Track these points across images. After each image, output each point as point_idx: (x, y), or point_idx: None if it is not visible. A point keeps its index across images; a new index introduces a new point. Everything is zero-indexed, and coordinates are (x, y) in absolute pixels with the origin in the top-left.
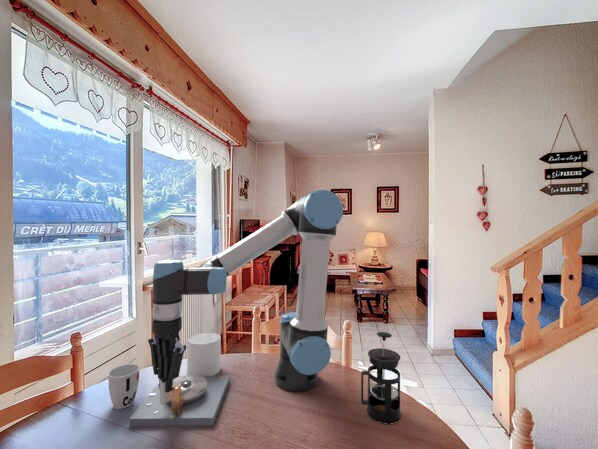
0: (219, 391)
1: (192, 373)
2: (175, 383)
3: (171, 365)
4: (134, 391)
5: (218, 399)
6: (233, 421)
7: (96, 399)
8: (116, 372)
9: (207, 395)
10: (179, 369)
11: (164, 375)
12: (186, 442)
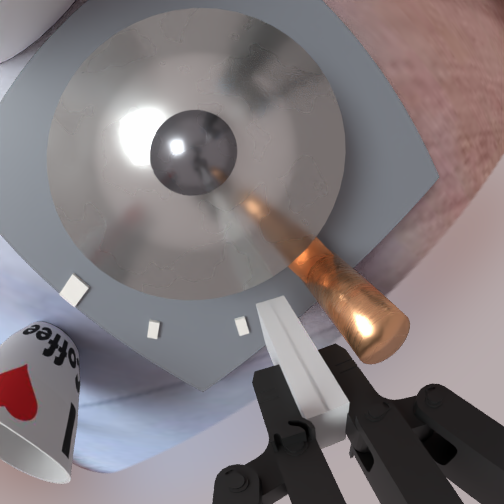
0: (317, 18)
1: (14, 43)
2: (115, 207)
3: (474, 490)
4: (57, 368)
5: (373, 72)
6: (445, 119)
7: None
8: None
9: None
10: (484, 419)
11: (369, 467)
12: (408, 269)
